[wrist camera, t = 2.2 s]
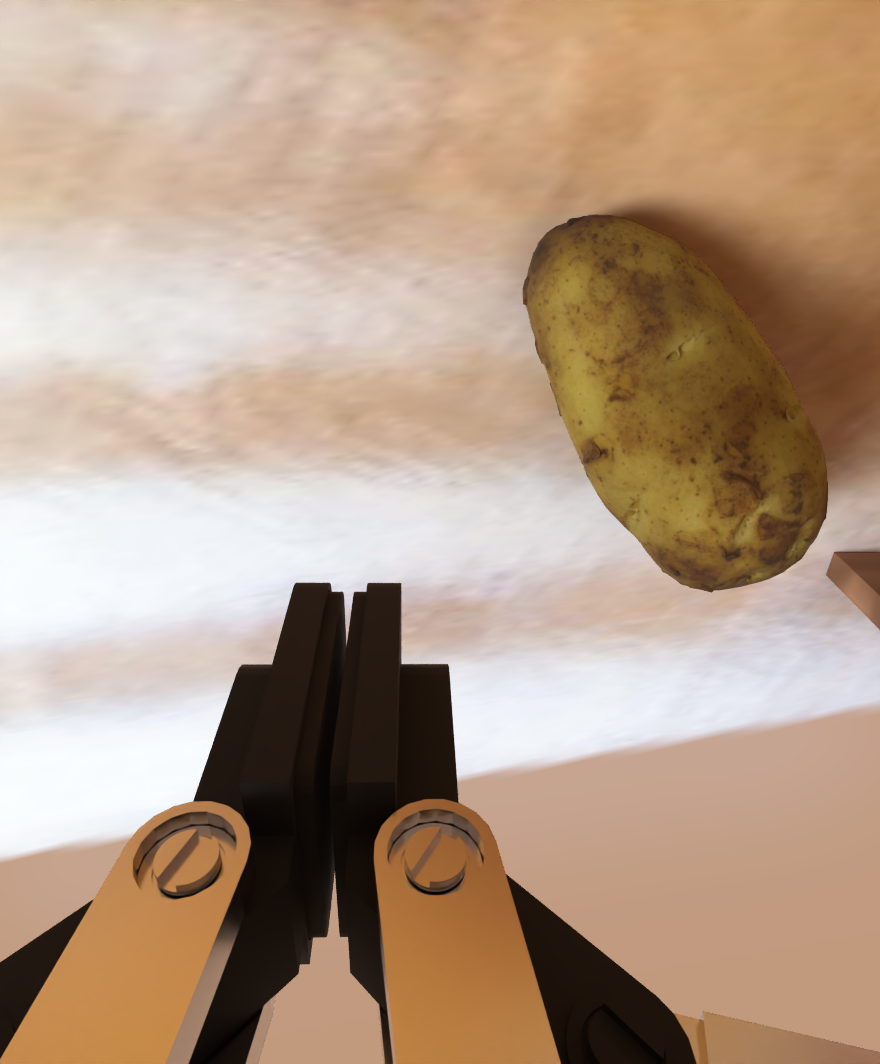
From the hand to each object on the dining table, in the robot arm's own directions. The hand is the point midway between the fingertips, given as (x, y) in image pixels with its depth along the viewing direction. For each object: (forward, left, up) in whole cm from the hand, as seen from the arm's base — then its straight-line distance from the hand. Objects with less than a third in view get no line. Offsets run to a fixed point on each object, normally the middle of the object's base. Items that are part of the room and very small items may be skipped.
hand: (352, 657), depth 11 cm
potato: (0, +10, -17) cm, 20 cm away
